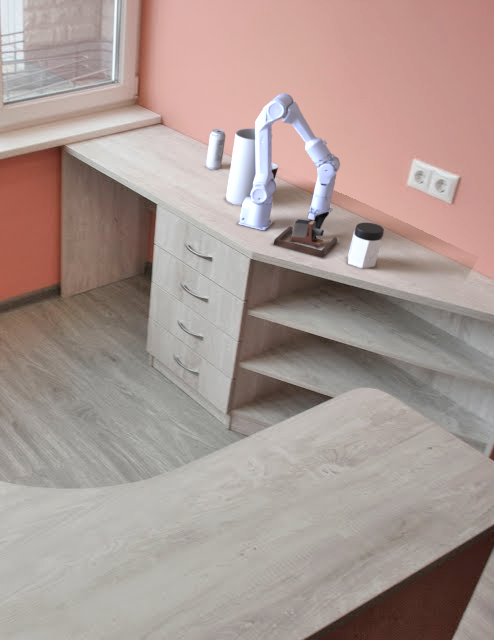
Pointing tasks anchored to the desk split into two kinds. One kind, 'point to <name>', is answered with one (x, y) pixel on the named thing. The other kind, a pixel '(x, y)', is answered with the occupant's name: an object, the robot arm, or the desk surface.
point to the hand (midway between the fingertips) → (314, 232)
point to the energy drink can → (215, 149)
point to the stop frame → (300, 248)
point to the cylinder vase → (242, 167)
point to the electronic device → (306, 232)
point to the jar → (365, 245)
